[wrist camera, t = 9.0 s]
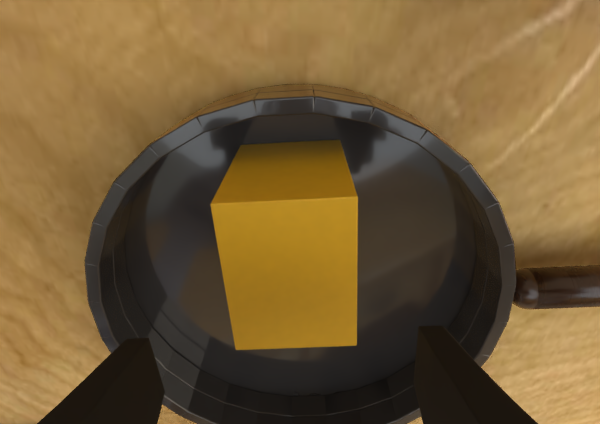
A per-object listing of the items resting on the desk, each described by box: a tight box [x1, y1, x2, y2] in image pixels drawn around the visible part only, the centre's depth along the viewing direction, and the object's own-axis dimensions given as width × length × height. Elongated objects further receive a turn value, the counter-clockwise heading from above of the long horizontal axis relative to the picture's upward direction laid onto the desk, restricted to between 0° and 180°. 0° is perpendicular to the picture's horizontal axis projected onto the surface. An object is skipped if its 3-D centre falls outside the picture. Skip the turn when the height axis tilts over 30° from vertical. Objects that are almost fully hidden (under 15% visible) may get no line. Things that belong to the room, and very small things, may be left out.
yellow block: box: [210, 140, 358, 350], centre depth 15 cm, size 6×4×6 cm
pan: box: [85, 84, 516, 424], centre depth 18 cm, size 18×18×3 cm
